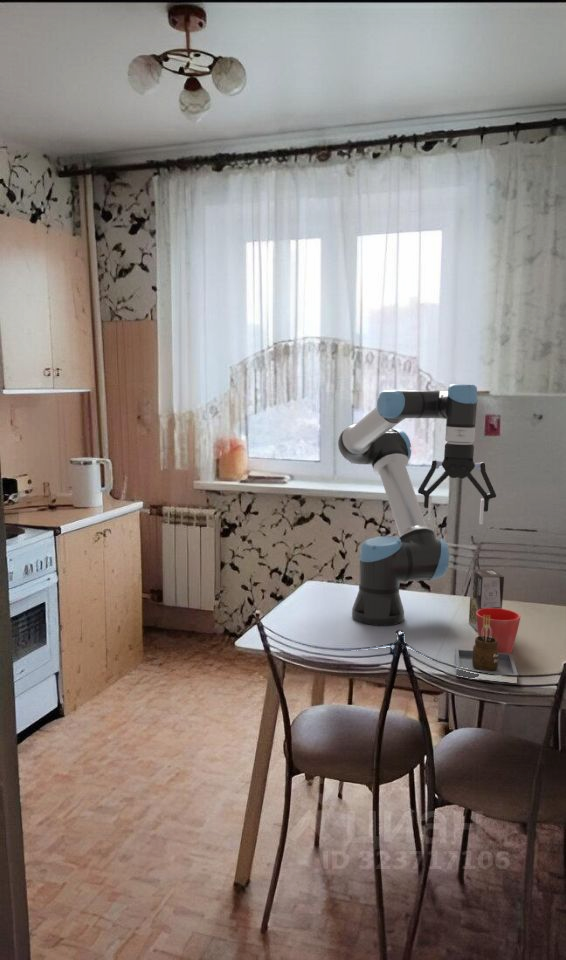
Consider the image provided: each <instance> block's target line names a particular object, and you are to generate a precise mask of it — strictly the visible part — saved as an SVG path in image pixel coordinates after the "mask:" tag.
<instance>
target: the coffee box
mask: <svg viewBox="0 0 566 960" xmlns="http://www.w3.org/2000/svg"><path fill="white" fill-rule="evenodd" d="M470 571H471V573H470V589H469V592H470V593H469V611H468V613H469V615H468V617H469V618H468V624H469V625H470V626H471V627H472V628H473V629H475V630H476V631H477V632H478V627H477V619H476V612H477V611H478V610H480V609H484V608H500V609H503V600H504V599H503V598H504V584H505V576H504V575H502V574H500V573H499V572H497V571H496V570H494V569H493V568H478V569H475V568H474V569H471V570H470Z"/></svg>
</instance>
